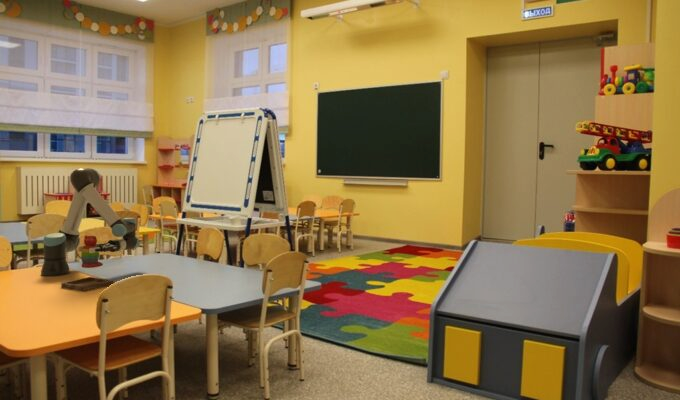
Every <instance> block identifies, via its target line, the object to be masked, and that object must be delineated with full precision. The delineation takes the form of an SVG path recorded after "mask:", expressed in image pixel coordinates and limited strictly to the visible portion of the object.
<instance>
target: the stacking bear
mask: <svg viewBox="0 0 680 400" xmlns="http://www.w3.org/2000/svg"><path fill="white" fill-rule="evenodd" d="M83 242H84V245H83V246H84V247H83V249H82V251H81V255H80V258H81V268H84V269H92V268H93V269H94V268H99V267H102V266H104V265H103V262H101V261H99V260H100V252H96V253H89V248H96V247H97V246H96V244H98V243H97V242H98V239H97V237H96V236H95V235H84V240H83Z"/></svg>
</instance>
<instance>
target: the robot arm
mask: <svg viewBox="0 0 680 400" xmlns="http://www.w3.org/2000/svg"><path fill="white" fill-rule="evenodd" d="M69 179H70V183H71V185H72V187H73V189H74V193H73V196H72V200H71V202H70V205H69V208H68V211H67V215H66V218H65V221H64V223H63V226H62V227H60V228H59V230H58V232H54V233H49V234H48V233H47V234H46V235H45V236H44V237H43V242H42V244H43V263H42V267H41V269H40V275H41V276H43V277H54V276H55V277H56V276H64V275H67V274H70V267H69V264H68V261H67V253H70V252H73V251H74V250H76V249H77V252H82V249H83V247H84V246H85V245H81V246H79V245H80V241H81V238H80V234H81V233H80V231H79V228H80V227H81V223H82V221H83V217H84V214H85V210H86V208H87V205H88V203H89V204H90V206H91V207H92V208H93V209H94V210H95V211H96V212H97V214H98V215H99V216H100V217H101V218H102V220H103V221H104V222H105V224H107V225H108V226H109V228H110V229H111V234H112V235H113V236H114V237H116V238H114V239H113V238H112V239H109V240H108V241H107V242H103V243H101V242H99V243H96V246H97V247H96V248H89V253H96V252H99V253H100V252H101V253H106V252H110V253H115V252H122V251H128V250H134V249H137V248H139V246H140V244H141V243H140V238H139V237H137V236H136V230H137V229H136V228H137V227H136V226H137V224H136V218H134V217H124V218H122V219H121V217H120V216H119V215H118V214H117V213H116V211H114V209H113V208H112V207H111V206H110V205H109V203H108V202H107V201H106V199H104V197H103V196H102V195H101V194H100V193H99V192H98V190H97V189H96V187H97V186H99V184H100V182H101V175H100V173H99V171H97V170H96V169H94V168H90V167H86V168H84V167H83V168H76V169H74V170H73V171H72V172H71V173H70V176H69ZM118 237H119V238H118ZM120 237H121V238H120Z"/></svg>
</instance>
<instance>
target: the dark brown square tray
mask: <svg viewBox="0 0 680 400" xmlns="http://www.w3.org/2000/svg"><path fill="white" fill-rule="evenodd" d="M60 284H61V285H60V286H61V289H66V290H73V291H77V292H89V291H93V290H98V289H102V288H106V287H110V286H109V285H111V284H113V285H114V280H112V279H107V278H99V277H94V276H93V277H92V276H88V277H84V278H83V277H82V278H79V279H78V278H77V279H74V280H69V281H64V282H61V283H60ZM111 286H112V285H111Z"/></svg>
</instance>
